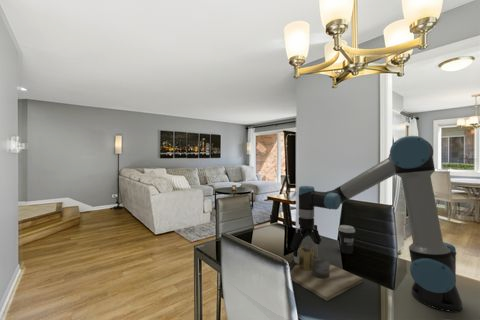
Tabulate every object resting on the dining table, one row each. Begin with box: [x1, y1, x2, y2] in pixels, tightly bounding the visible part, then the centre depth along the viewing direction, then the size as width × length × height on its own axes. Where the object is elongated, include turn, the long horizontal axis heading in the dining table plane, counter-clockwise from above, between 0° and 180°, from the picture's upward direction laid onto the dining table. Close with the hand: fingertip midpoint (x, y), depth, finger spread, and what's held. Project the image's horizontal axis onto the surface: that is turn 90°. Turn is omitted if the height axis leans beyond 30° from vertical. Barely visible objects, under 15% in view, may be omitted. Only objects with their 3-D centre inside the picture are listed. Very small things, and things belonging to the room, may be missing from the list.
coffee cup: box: [337, 224, 356, 255], centre depth 138 cm, size 10×10×15 cm
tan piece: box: [298, 246, 314, 271], centre depth 115 cm, size 7×7×9 cm
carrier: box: [287, 244, 364, 302], centre depth 109 cm, size 28×26×12 cm
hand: (306, 259), depth 115 cm, fingers open, 13 cm apart
